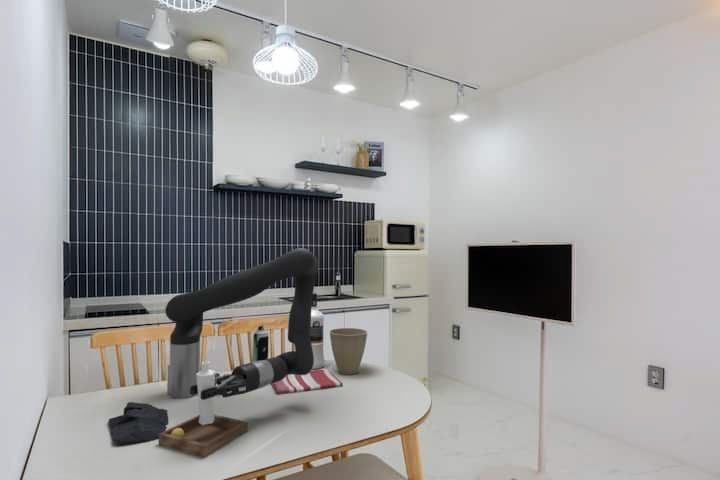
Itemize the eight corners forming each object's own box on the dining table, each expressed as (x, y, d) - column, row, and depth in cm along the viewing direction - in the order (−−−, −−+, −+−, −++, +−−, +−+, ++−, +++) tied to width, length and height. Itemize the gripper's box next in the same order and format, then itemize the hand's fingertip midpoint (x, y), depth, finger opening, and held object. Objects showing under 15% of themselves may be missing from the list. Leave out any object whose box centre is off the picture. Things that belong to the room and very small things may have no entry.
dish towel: (268, 381, 155) (268, 373, 155) (328, 374, 164) (328, 367, 164) (276, 396, 139) (276, 388, 139) (343, 388, 148) (343, 380, 148)
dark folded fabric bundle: (103, 454, 100) (103, 434, 100) (109, 420, 119) (109, 403, 120) (173, 441, 107) (173, 422, 107) (168, 411, 127) (168, 395, 127)
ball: (167, 442, 104) (167, 429, 104) (177, 437, 107) (178, 424, 107) (176, 445, 102) (177, 432, 103) (187, 440, 105) (187, 427, 105)
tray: (158, 446, 103) (158, 433, 103) (204, 423, 117) (204, 412, 117) (204, 460, 97) (204, 446, 97) (247, 433, 110) (247, 422, 110)
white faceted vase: (199, 418, 109) (198, 360, 109) (217, 417, 109) (215, 359, 110) (194, 425, 105) (193, 365, 105) (212, 424, 105) (211, 364, 105)
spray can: (264, 383, 151) (264, 327, 151) (250, 382, 152) (250, 327, 152) (270, 378, 156) (271, 324, 156) (256, 377, 157) (257, 324, 157)
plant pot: (368, 377, 159) (369, 335, 159) (329, 378, 158) (329, 335, 158) (365, 366, 174) (365, 327, 174) (329, 366, 173) (329, 327, 173)
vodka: (322, 362, 178) (323, 291, 178) (326, 369, 169) (326, 294, 169) (300, 364, 176) (301, 292, 176) (303, 370, 167) (303, 294, 167)
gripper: (238, 358, 123) (181, 372, 109) (269, 367, 113) (211, 384, 100) (238, 384, 123) (181, 401, 109) (269, 395, 113) (211, 415, 100)
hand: (196, 393), depth 105 cm, fingers closed on white faceted vase, 4 cm apart
